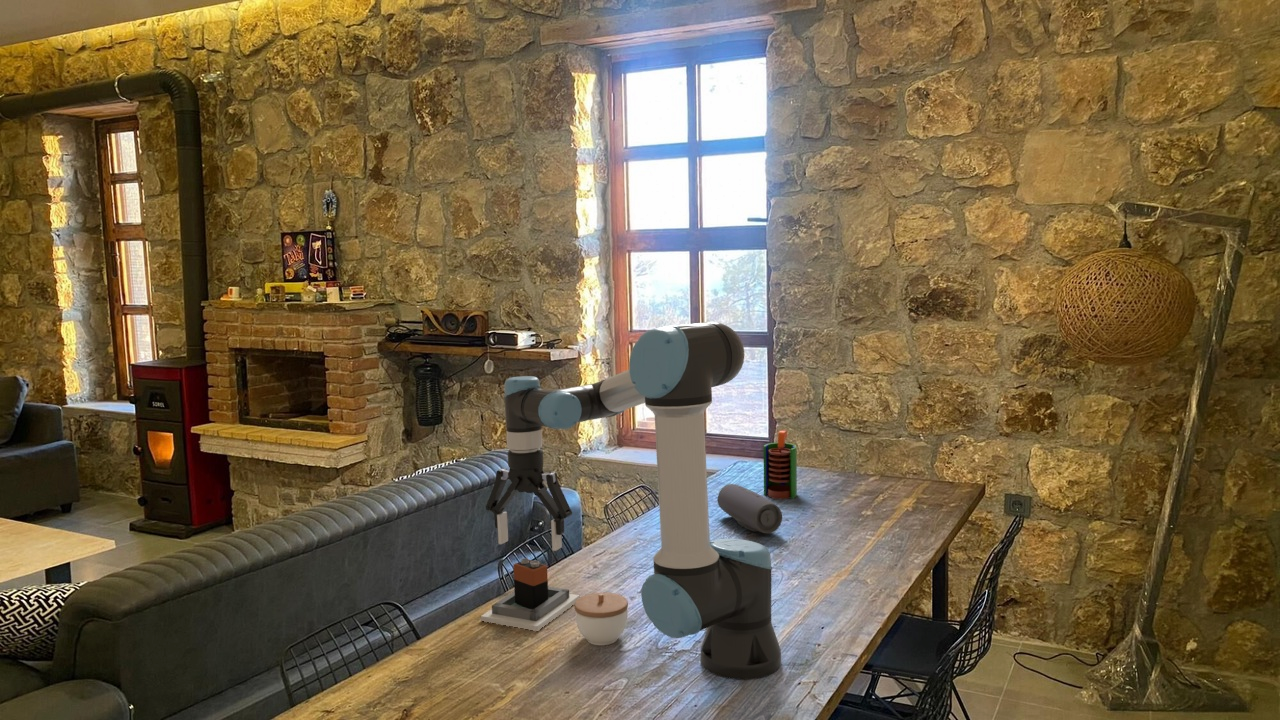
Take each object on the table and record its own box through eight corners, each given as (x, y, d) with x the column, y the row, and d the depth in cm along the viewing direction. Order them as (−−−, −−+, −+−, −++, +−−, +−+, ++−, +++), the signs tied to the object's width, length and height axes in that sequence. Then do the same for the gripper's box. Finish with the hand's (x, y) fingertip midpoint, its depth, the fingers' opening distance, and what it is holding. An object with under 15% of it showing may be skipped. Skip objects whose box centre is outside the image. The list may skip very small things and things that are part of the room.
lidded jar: (600, 623, 192) (598, 580, 191) (639, 636, 185) (638, 592, 184) (564, 641, 184) (562, 596, 182) (604, 655, 177) (603, 609, 176)
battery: (534, 611, 195) (532, 566, 194) (513, 603, 200) (512, 559, 199) (549, 605, 199) (548, 561, 197) (529, 598, 203) (527, 554, 202)
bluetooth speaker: (784, 535, 246) (784, 499, 245) (754, 540, 243) (753, 503, 242) (744, 513, 267) (744, 480, 266) (715, 517, 264) (715, 483, 263)
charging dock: (537, 631, 188) (536, 617, 188) (481, 621, 194) (480, 607, 194) (579, 600, 205) (579, 587, 204) (526, 591, 211) (526, 579, 210)
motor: (762, 497, 283) (761, 434, 281) (766, 490, 292) (766, 428, 289) (795, 499, 280) (794, 435, 278) (798, 492, 289) (798, 429, 286)
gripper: (584, 448, 193) (589, 546, 195) (486, 442, 204) (491, 534, 206) (567, 456, 186) (571, 557, 189) (466, 449, 197) (471, 544, 199)
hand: (529, 545), depth 197 cm, fingers open, 13 cm apart
